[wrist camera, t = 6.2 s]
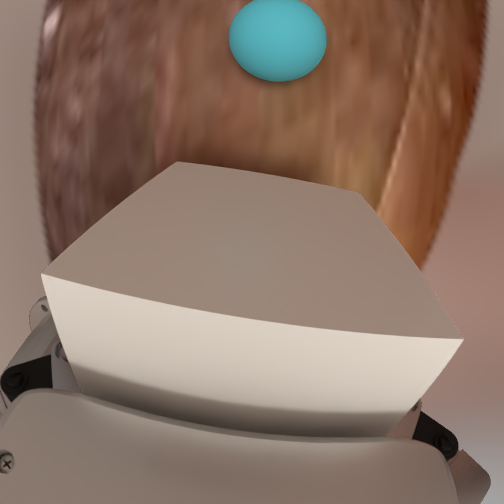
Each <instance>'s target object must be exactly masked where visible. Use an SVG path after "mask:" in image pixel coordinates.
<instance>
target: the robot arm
mask: <svg viewBox="0 0 504 504" xmlns="http://www.w3.org/2000/svg"><path fill="white" fill-rule="evenodd" d="M29 324H30V328H31V332H32V333H31V334H30V335H29V336H28V338H27V339H26V341H25V342H24V343H23V345H22V346H21V347H20V349H19V350H18V352H17V353H16V354H15V356H14V357H13V359H12V360H11V361H10V363H9V364H8V366H7V367H6V369H5V370H4V372H3V373H2V375H1V376H0V504H480V503H481V502H482V500H483V498H484V497H485V495H486V493H487V492H488V490H489V488H490V485H491V480H490V476H489V474H488V473H487V472H486V471H485V470H484V469H483V468H482V467H481V466H480V465H479V464H478V463H477V462H476V461H475V460H474V459H472V458H471V457H470V456H469V455H468V454H467V453H466V452H465V451H464V450H463V449H462V450H461V451H459V450H458V441H457V438H456V437H455V435H454V434H453V433H452V432H451V431H449V430H448V429H446V428H445V427H443V426H442V425H441V424H439V423H438V422H436V421H435V420H433V419H432V418H430V417H429V416H428V415H426V414H425V413H423V412H422V411H421V407H422V402H421V398H420V399H419V400H418V401H417V402H416V403H415V405H414V406H413V407H412V408H411V409H410V410H409V411H408V412H407V414H406V415H405V416H404V417H403V418H402V419H401V420H400V421H399V422H398V423H397V424H396V425H395V426H394V427H393V429H392V430H391V431H390V432H389V433H388V434H387V435H386V436H385V437H305V436H288V435H275V434H264V433H255V432H247V431H239V430H232V429H225V428H219V427H213V426H207V425H201V424H196V423H191V422H186V421H181V420H176V419H172V418H168V417H163V416H159V415H155V414H151V413H147V412H143V411H140V410H136V409H133V408H129V407H125V406H122V405H118V404H115V403H111V402H108V401H105V400H102V399H99V398H95V397H92V396H88V395H86V394H83V393H82V392H81V389H80V387H79V385H78V383H77V380H76V378H75V376H74V373H73V371H72V369H71V366H70V364H69V361H68V359H67V356H66V354H65V351H64V348H63V346H62V343H61V340H60V337H59V334H58V331H57V329H56V326H55V322H54V319H53V316H52V313H51V310H50V306H49V303H48V300H47V296H45V297H43V298H41V299H39V300H38V302H37V303H36V304H35V305H34V306H33V307H32V309H31V311H30V315H29Z"/></svg>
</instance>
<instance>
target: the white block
mask: <svg viewBox="0 0 504 504" xmlns="http://www.w3.org/2000/svg"><path fill="white" fill-rule="evenodd" d="M41 277H42V281H43V285H44V289H45V292H46V296H47V300H48V303H49V306H50V310H51V313H52V316H53V319H54V322H55V326H56V329H57V331H58V334H59V337H60V340H61V343H62V346H63V348H64V351H65V354H66V356H67V359H68V361H69V364H70V366H71V369H72V371H73V373H74V376H75V378H76V380H77V383H78V385H79V387H80V389H81V392H82V393H83V394H86V395H88V396H92V397H95V398H99V399H102V400H105V401H108V402H111V403H115V404H118V405H122V406H125V407H129V408H133V409H136V410H140V411H143V412H147V413H151V414H155V415H159V416H163V417H168V418H172V419H176V420H181V421H186V422H191V423H196V424H201V425H207V426H213V427H219V428H225V429H232V430H239V431H247V432H255V433H264V434H275V435H288V436H305V437H385V436H386V435H387V434H388V433H389V432H390V431H391V430H392V429H393V427H394V426H395V425H396V424H397V423H398V422H399V421H400V420H401V419H402V418H403V417H404V416H405V415H406V414H407V412H408V411H409V410H410V409H411V408H412V407H413V406H414V405H415V403H416V402H417V401H418V400H419V399H420V398H421V396H422V395H423V394H424V393H425V392H426V390H427V389H428V388H429V386H430V385H431V384H432V383H433V381H434V380H435V379H436V378H437V376H438V375H439V374H440V373H441V371H442V370H443V369H444V367H445V366H446V364H447V363H448V362H449V360H450V359H451V357H452V356H453V355H454V353H455V352H456V350H457V349H458V347H459V346H460V344H461V343H462V341H463V340H464V338H463V337H462V335H461V333H460V331H459V330H458V328H457V326H456V325H455V323H454V322H453V320H452V318H451V317H450V315H449V313H448V312H447V310H446V309H445V307H444V306H443V304H442V303H441V301H440V299H439V298H438V296H437V295H436V293H435V292H434V290H433V289H432V287H431V286H430V284H429V283H428V281H427V280H426V279H425V277H424V276H423V274H422V273H421V271H420V270H419V268H418V267H417V266H416V264H415V263H414V261H413V260H412V259H411V257H410V256H409V255H408V253H407V252H406V250H405V249H404V248H403V246H402V245H401V244H400V242H399V241H398V240H397V239H396V237H395V236H394V235H393V233H392V232H391V231H390V229H389V228H388V227H387V226H386V224H385V223H384V222H383V221H382V219H381V218H380V217H379V216H378V214H377V213H376V212H375V211H374V210H373V208H372V207H371V206H370V205H369V204H368V202H367V201H366V200H365V199H364V198H363V196H362V195H361V194H360V193H359V192H354V191H350V190H346V189H341V188H337V187H332V186H327V185H322V184H317V183H313V182H307V181H302V180H297V179H292V178H286V177H281V176H275V175H269V174H264V173H258V172H251V171H245V170H239V169H232V168H225V167H218V166H210V165H203V164H195V163H186V162H178V161H177V162H175V163H174V164H172V165H171V166H169V167H168V168H167V169H165V170H164V171H162V172H161V173H160V174H158V175H157V176H155V177H154V178H153V179H151V180H150V181H149V182H147V183H146V184H145V185H143V186H142V187H141V188H139V189H138V190H137V191H135V192H134V193H133V194H131V195H130V196H129V197H127V198H126V199H125V200H124V201H122V202H121V203H120V204H119V205H117V206H116V207H115V208H114V209H112V210H111V211H110V212H109V213H107V214H106V215H105V216H104V217H103V218H101V219H100V220H99V221H98V222H97V223H95V224H94V225H93V226H92V227H91V228H89V229H88V230H87V231H86V232H85V233H84V234H83V235H81V236H80V237H79V238H78V239H77V240H76V241H75V242H73V243H72V244H71V245H70V246H69V247H68V248H67V249H66V250H65V251H64V252H62V253H61V254H60V255H59V256H58V257H57V258H56V259H55V260H54V261H53V262H52V263H51V264H50V265H49V266H48V267H47V268H46V269H44V270H43V271H42V272H41Z"/></svg>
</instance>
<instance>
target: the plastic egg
mask: <svg viewBox="0 0 504 504" xmlns="http://www.w3.org/2000/svg"><path fill="white" fill-rule="evenodd" d="M326 44H327V37H326V30H325V27H324V24H323V23H322V21H321V19H320V18H319V16H318V15H317V14H316V13H315V11H314V10H313V9H311V8H310V7H309V6H308V5H306V4H305V3H303V2H301V1H299V0H254V1H252V2H250V3H248V4H247V5H245V6H244V7H243V8H242V9H241V10H240V11H239V12H238V13H237V14H236V16H235V17H234V19H233V21H232V23H231V26H230V30H229V45H230V49H231V52H232V54H233V56H234V58H235V60H236V61H237V62H238V64H239V65H240V66H241V67H242V68H243V69H245V70H246V71H247V72H249V73H250V74H252V75H254V76H256V77H258V78H260V79H263V80H267V81H273V82H285V81H291V80H295V79H298V78H301V77H303V76H305V75H306V74H308V73H309V72H311V71H312V70H313V69H314V68H315V67H316V66H317V65H318V64H319V62H320V61H321V59H322V58H323V55H324V53H325V50H326Z"/></svg>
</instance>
